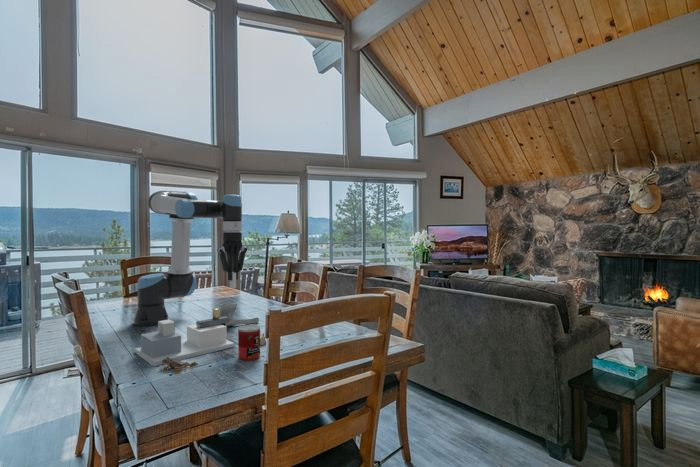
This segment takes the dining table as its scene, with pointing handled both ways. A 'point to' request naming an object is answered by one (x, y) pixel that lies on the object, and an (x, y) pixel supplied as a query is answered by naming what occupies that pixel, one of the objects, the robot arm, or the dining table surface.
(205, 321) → the bolt
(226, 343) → the white stepped platform
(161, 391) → the dining table surface
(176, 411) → the dining table surface
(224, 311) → the door handle
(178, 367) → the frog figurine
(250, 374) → the dining table surface
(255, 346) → the canned food
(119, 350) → the dining table surface
